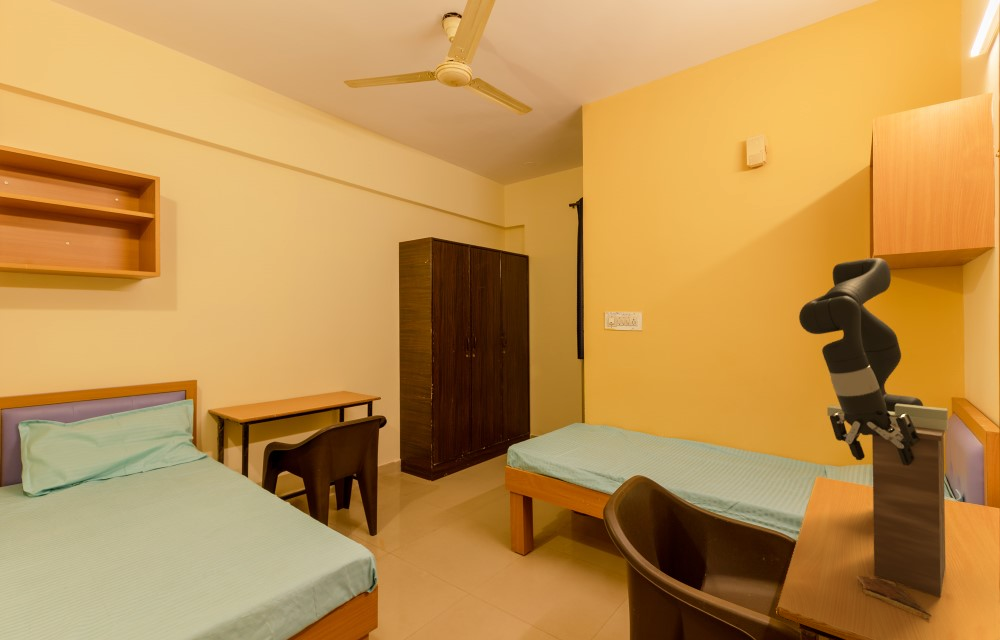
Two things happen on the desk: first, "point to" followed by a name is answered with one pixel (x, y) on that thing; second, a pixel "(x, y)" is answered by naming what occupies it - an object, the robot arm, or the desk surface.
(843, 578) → the desk surface
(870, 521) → the desk surface
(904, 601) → the shard
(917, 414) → the cream plank with block
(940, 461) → the walnut stand
